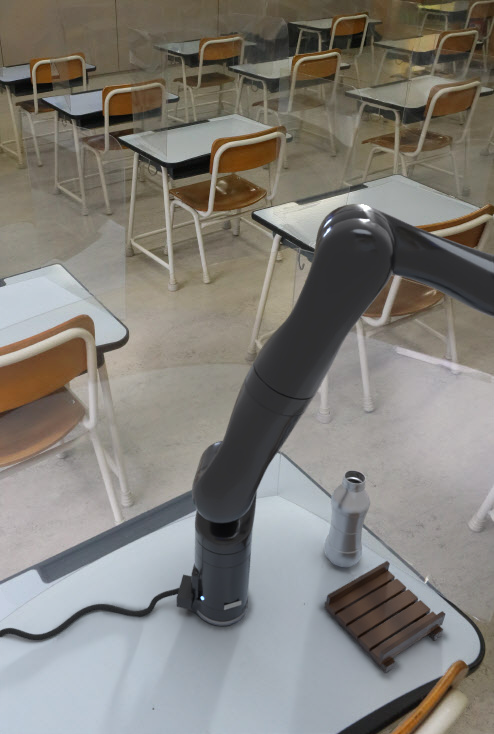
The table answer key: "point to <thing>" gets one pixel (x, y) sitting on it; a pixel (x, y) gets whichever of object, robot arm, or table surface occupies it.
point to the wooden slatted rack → (382, 615)
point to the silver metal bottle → (347, 520)
